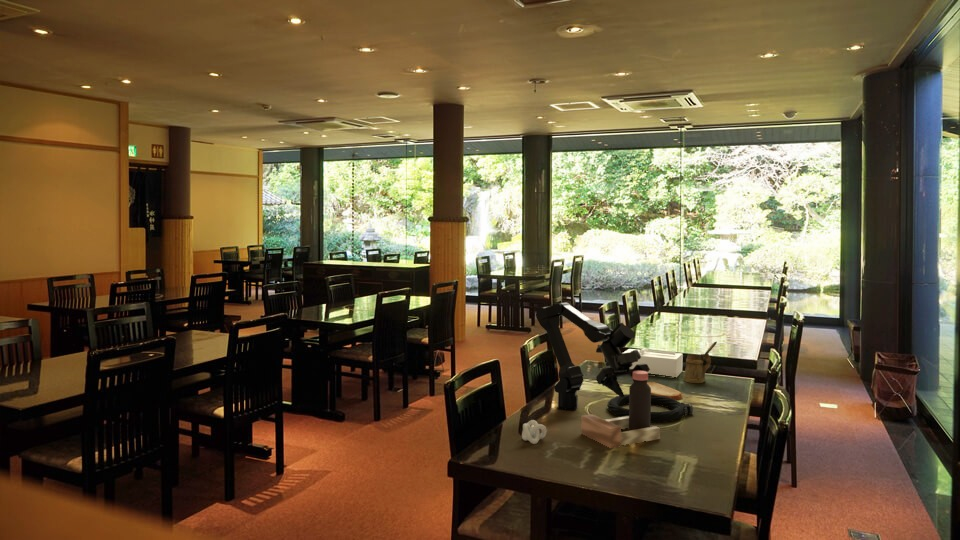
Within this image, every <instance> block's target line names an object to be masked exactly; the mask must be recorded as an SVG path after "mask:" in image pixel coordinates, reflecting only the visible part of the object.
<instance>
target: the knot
mask: <svg viewBox="0 0 960 540" xmlns="http://www.w3.org/2000/svg"><path fill="white" fill-rule="evenodd" d="M531 426H532V427H531ZM540 430H541V433H540ZM546 436H547V427H546V426H545V425H543V424H541V423H538V422H537V421H536V419H535V420H534V419H531V420H529V421H528V422H525V423H523V424H522V431H521V438H522V440H523V441H528V442H529V443H531V444H533V445H536V444H537V443H538V442H539V441H540V440H542V439H544V438H545V437H546Z"/></svg>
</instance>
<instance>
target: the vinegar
mask: <svg viewBox="0 0 960 540" xmlns="http://www.w3.org/2000/svg"><path fill="white" fill-rule="evenodd" d="M632 381H633V383H631V384H630V386H629V393H628V395H629V404H628V409H629V429H628V431H631V430H637V429H642V428H648V427H651V422H650V420H651V412H652V411H651V408H652V404H651V387H650V386H649V385H648V384H647V382H649V375H648V372H646V371H633V378H632Z"/></svg>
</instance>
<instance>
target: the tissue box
mask: <svg viewBox="0 0 960 540" xmlns="http://www.w3.org/2000/svg"><path fill="white" fill-rule="evenodd" d="M633 350H638V352H639V353H640V356H641V358H640V359H638V362H634V363H632V364H633V365H632V366H631V367H630V369H633V368H634V367H635V366H636V365H637V364H647V365H648V367H649V369H650V370H649V371H648V373H651V374H659V375H666V376H672V377H671V378H674V377H676V378H678V376H679V375H680V374H681V373H683V365H684V364H683V362H684V361H683V357H684V355H683V354H684V353H680V352H676V351H672V350H671V351H669V350H655V349H653V350H651V349H650V348H647V347H643V348H641V349H633V348H628V349H626V350H625V351H624V352H622V353H629V352H631V351H633Z"/></svg>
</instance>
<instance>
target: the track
mask: <svg viewBox="0 0 960 540" xmlns="http://www.w3.org/2000/svg"><path fill="white" fill-rule="evenodd" d="M580 421H581V422H580V423H581V426H580V428H581V429H580V430H581V431H580V432H581V435H582V434H583V436H584V435H585V436H584V437H586V436H587V437H586V438H588V439H591V440H592V439H593V440H592V441H594V440H595V442H596V441H597V442H596V443H598V442H599V443H598V444H600V443H601V444H600V445H602V444H603V445H602V446H604V445H605V446H604V447H606V446H607V447H606V448H608V447H609V448H608V449H615V448H620V447H619V446H621V445H624V446H627V445H626V444H629V445H634V444H633V443H635V444H638V442H640V443H644V441H646V442H649V441H655V440H656V441H657V440H661V439H660V438H661V428H660V427H658V426H656V425H655V426H650V427H648V428H642V429H637V430H631V431H629V430H627V431H622V430H621V429H623V430H626V429H625V428H629V416H625V417H613V418H608V419H607V418H606V419H603V418H602V417H599V416H597V415H595V414H592V413H589V414H584V415H581V420H580ZM614 447H615V448H614ZM621 447H622V446H621Z"/></svg>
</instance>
